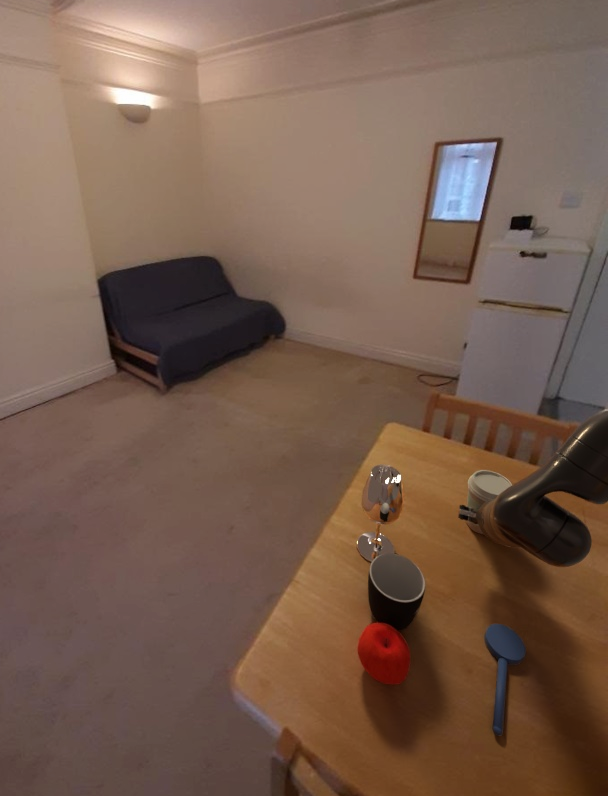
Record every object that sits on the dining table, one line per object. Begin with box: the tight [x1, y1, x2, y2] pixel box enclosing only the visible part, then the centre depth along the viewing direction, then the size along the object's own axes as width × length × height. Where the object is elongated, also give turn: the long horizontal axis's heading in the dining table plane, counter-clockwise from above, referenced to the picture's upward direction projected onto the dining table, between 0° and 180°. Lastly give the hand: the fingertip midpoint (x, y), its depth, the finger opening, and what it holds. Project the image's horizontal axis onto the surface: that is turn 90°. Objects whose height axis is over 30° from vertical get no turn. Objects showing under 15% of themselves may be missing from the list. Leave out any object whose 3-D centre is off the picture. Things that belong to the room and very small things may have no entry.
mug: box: [367, 552, 426, 632], centre depth 71 cm, size 12×9×10 cm
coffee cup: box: [465, 469, 513, 535], centre depth 86 cm, size 8×8×12 cm
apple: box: [357, 622, 411, 685], centre depth 63 cm, size 8×8×7 cm
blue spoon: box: [483, 623, 527, 737], centre depth 62 cm, size 16×6×1 cm, turn 147°
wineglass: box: [356, 464, 405, 563], centre depth 80 cm, size 8×8×20 cm
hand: (485, 520), depth 83 cm, fingers closed
